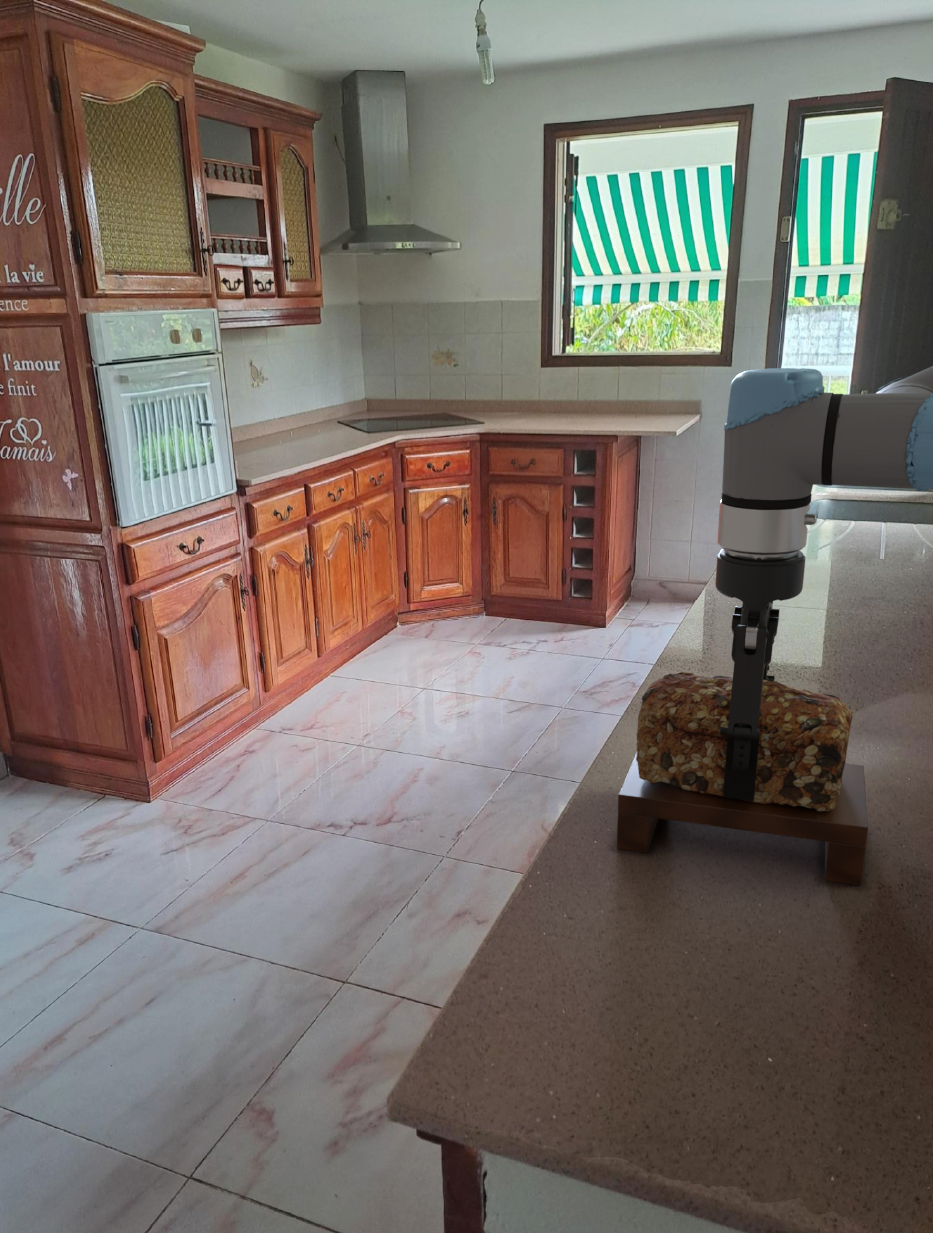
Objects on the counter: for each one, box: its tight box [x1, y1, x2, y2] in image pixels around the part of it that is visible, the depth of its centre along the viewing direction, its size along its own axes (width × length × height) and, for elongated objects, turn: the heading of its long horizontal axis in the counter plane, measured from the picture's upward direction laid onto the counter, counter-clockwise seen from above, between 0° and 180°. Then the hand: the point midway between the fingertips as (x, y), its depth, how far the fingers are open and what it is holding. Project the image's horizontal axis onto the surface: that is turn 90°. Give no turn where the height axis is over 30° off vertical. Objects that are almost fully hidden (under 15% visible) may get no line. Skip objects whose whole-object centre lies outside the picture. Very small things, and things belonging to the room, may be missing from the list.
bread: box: [636, 671, 854, 811], centre depth 92 cm, size 19×11×10 cm, turn 64°
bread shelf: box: [616, 751, 869, 887], centre depth 95 cm, size 22×13×6 cm, turn 69°
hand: (743, 771), depth 94 cm, fingers closed on bread, 11 cm apart
